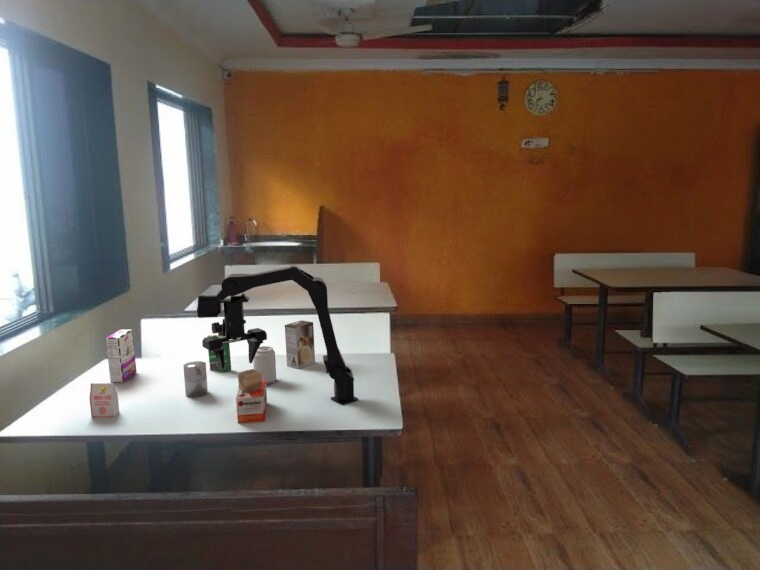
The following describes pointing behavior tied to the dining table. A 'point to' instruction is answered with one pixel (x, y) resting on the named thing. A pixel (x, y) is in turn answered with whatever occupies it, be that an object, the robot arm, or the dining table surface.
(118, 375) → the candy bar box
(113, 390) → the white paper food packet
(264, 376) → the can
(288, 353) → the coffee box
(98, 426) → the dining table surface
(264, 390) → the medicine box
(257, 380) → the light brown wooden cube
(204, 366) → the grey metal cylinder
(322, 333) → the robot arm
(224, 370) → the coffee box
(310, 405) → the dining table surface
